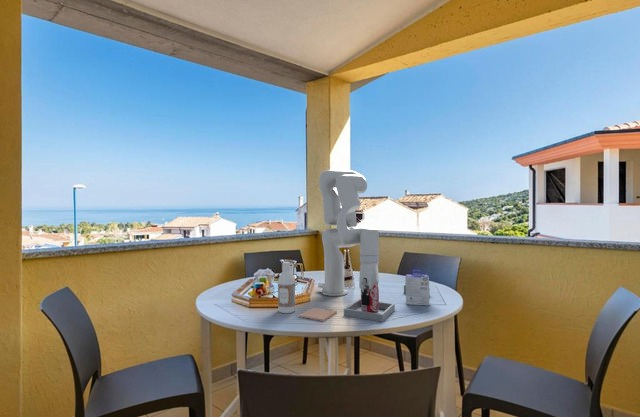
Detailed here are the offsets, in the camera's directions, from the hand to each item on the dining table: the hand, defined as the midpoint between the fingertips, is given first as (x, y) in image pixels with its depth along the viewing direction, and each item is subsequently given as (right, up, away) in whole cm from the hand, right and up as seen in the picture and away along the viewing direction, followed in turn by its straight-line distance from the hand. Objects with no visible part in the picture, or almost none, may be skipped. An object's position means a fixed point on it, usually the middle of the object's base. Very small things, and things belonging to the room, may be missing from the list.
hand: (370, 302), depth 136 cm
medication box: (+26, -4, +27) cm, 38 cm away
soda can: (0, -5, 0) cm, 5 cm away
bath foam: (-34, -5, +4) cm, 34 cm away
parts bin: (0, -4, 0) cm, 4 cm away
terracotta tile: (-21, -5, -2) cm, 21 cm away
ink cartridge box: (+22, -4, +12) cm, 26 cm away
